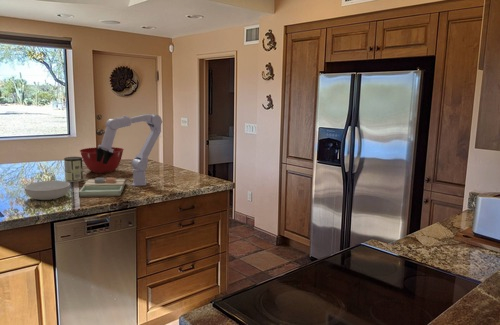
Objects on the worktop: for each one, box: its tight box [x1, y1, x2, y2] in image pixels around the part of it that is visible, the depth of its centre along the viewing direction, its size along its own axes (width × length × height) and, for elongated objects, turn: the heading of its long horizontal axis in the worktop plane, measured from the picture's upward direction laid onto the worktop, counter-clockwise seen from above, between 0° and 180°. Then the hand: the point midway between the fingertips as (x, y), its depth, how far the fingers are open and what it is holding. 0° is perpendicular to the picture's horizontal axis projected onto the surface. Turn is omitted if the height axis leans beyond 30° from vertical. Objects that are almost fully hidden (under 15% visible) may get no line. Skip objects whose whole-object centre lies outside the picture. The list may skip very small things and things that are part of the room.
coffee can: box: [63, 156, 84, 183], centre depth 239 cm, size 10×10×14 cm
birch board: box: [82, 178, 126, 189], centre depth 226 cm, size 16×21×3 cm
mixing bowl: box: [79, 146, 125, 174], centre depth 267 cm, size 28×28×15 cm
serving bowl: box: [23, 180, 71, 201], centre depth 199 cm, size 21×21×7 cm
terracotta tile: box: [105, 177, 117, 183], centre depth 226 cm, size 5×5×2 cm
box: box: [78, 186, 124, 198], centre depth 212 cm, size 13×21×3 cm, turn 103°
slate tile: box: [94, 177, 106, 183], centre depth 225 cm, size 5×5×2 cm
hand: (101, 162), depth 218 cm, fingers open, 7 cm apart
